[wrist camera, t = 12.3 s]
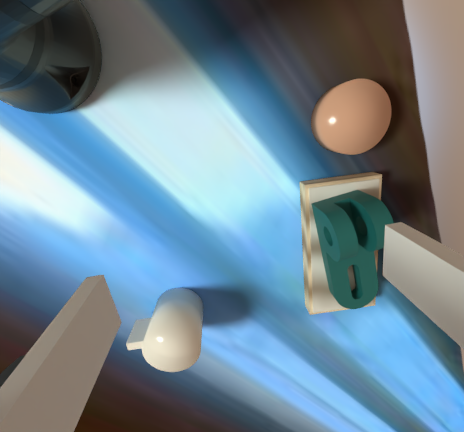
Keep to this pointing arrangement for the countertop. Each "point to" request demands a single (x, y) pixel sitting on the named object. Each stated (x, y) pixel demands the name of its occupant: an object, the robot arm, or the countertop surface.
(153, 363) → the mug
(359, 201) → the bracket
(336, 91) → the peach flattened dome
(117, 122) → the countertop surface
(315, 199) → the tray
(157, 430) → the countertop surface
